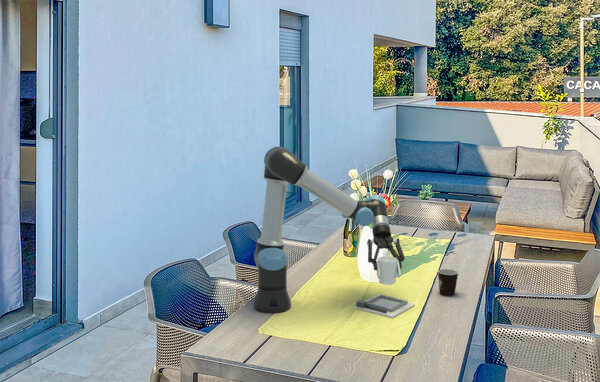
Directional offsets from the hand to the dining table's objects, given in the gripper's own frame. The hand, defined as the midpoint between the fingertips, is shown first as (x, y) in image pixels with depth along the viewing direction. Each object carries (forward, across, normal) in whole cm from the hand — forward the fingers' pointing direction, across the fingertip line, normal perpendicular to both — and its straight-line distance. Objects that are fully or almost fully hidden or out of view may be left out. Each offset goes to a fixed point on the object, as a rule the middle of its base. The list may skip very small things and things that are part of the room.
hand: (389, 276), depth 253 cm
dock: (+7, 0, -12) cm, 14 cm away
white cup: (0, 0, -5) cm, 5 cm away
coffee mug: (-2, -31, -22) cm, 38 cm away
